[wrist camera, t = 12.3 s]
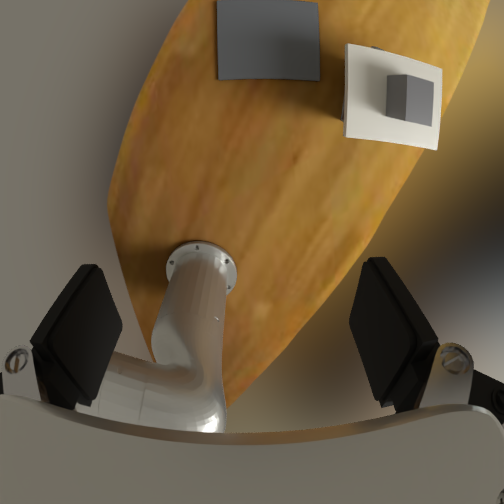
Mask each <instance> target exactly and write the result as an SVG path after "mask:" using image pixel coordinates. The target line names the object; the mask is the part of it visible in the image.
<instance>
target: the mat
mask: <svg viewBox="0 0 504 504" xmlns="http://www.w3.org/2000/svg"><path fill="white" fill-rule="evenodd" d="M217 38H218V78H219V80H233V79H292V80H309V81H320V44H319V19H318V3H313V2H304V1H293V0H220V1H217Z"/></svg>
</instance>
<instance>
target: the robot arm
mask: <svg viewBox="0 0 504 504" xmlns="http://www.w3.org/2000/svg"><path fill="white" fill-rule="evenodd" d="M227 259H228V260H227ZM166 275H167V279H168V281H169V284H168V287H167V290H166V293H165V296H164V299H163V302H162V305H161V308H160V311H159V314H158V317H157V320H156V323H155V326H154V329H153V333H152V341H151V343H152V350H153V354H154V357H155V359H156V362H157V363H152V362H148V361H145V360H142V359H138V358H134V357H132V356H129V355H125V354H122V353H119V352H116V351H114V348H115V346H116V343H117V341H118V338H119V336H120V333H121V331H122V320H121V318H120V316H119V313H118V311H117V308H116V306H115V303H114V301H113V298H112V295H111V293H110V290H109V288H108V285H107V282H106V279H105V276H104V274H103V271H102V270H101V268H99V267H98V266H97V265H96V264H84V265H81V266H80V268H79V269H78V270H77V272H76V273H75V274H74V276H73V277H72V278H71V280H70V281H69V282H68V284H67V285H66V286H65V288H64V289H63V291H62V292H61V294H60V295H59V296H58V298H57V299H56V301H55V302H54V304H53V305H52V307H51V308H50V310H49V311H48V313H47V314H46V316H45V317H44V319H43V320H42V322H41V323H40V325H39V327H38V328H37V330H36V331H35V333H34V335H33V336H32V338H31V340H30V343H31V344H32V345H33V349H32V350H31V349H30V348H29V347H27V346H25V345H19V346H16V347H14V348H13V349H11V350H10V351H9V352H8V353H7V354H6V356H5V357H4V360H3V362H2V372H1V373H0V504H504V384H503V383H502V382H499V381H497V380H495V379H493V378H491V377H489V376H487V375H485V374H482V373H480V372H478V371H476V370H474V361H473V359H472V356H471V355H470V353H469V352H468V351H467V350H466V349H465V348H464V347H463V346H461V345H459V344H456V343H445V344H442V345H441V346H440V344H439V343H438V337H437V336H436V334H435V332H434V330H433V329H432V327H431V325H430V324H429V322H428V320H427V319H426V317H425V316H424V314H423V313H422V311H421V309H420V308H419V306H418V304H417V303H416V301H415V300H414V298H413V297H412V295H411V294H410V292H409V291H408V289H407V288H406V286H405V285H404V283H403V282H402V280H401V279H400V277H399V276H398V274H397V273H396V272H395V270H394V269H393V267H392V266H391V264H390V263H389V262H388V260H387V259H386V258H385V257H370V258H369V259H368V260H367V262H364V263H363V266H362V271H361V275H360V279H359V283H358V287H357V292H356V296H355V299H354V303H353V307H352V310H351V314H350V318H349V325H350V329H351V331H352V334H353V337H354V340H355V342H356V345H357V348H358V351H359V353H360V356H361V359H362V362H363V365H364V368H365V371H366V374H367V377H368V380H369V383H370V386H371V389H372V393H373V396H374V398H375V400H376V401H378V400H379V402H380V405H381V408H383V407H387V406H392V405H394V408H395V410H396V413H395V414H393V415H390V416H385V417H380V418H376V419H371V420H366V421H360V422H354V423H349V424H343V425H337V426H330V427H323V428H315V429H306V430H295V431H283V432H262V433H224V430H225V427H226V403H225V397H224V391H223V384H222V369H221V361H222V343H223V329H224V316H225V304H226V295H228V294H229V293H230V292H231V291H232V289H233V288H234V286H235V283H236V280H237V268H236V265H235V262H234V261H233V259H232V257H231V256H230V255H229V254H228V253H227V252H226V251H225V250H224V249H223V248H221V247H219V246H217V245H215V244H212V243H210V242H204V241H193V242H188V243H185V244H182V245H181V246H179V247H177V248H176V249H175V250H174V251H173V252H172V254H171V255H170V257H169V259H168V261H167V265H166Z"/></svg>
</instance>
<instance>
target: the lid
mask: <svg viewBox="0 0 504 504" xmlns="http://www.w3.org/2000/svg"><path fill="white" fill-rule="evenodd" d="M441 100H442V69H440V68H438V67H435V66H432V65H429V64H426V63H423V62H420V61H417V60H414V59H411V58H408V57H404V56H401V55H397V54H394V53H390V52H386V51H382V50H377V49H373V48H369V47H364V46H359V45H353V44H346V45H345V104H344V128H343V136H344V137H349V138H359V139H368V140H377V141H384V142H392V143H398V144H405V145H411V146H417V147H422V148H428V149H433V150H437V146H438V138H439V128H440V116H441Z"/></svg>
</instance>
